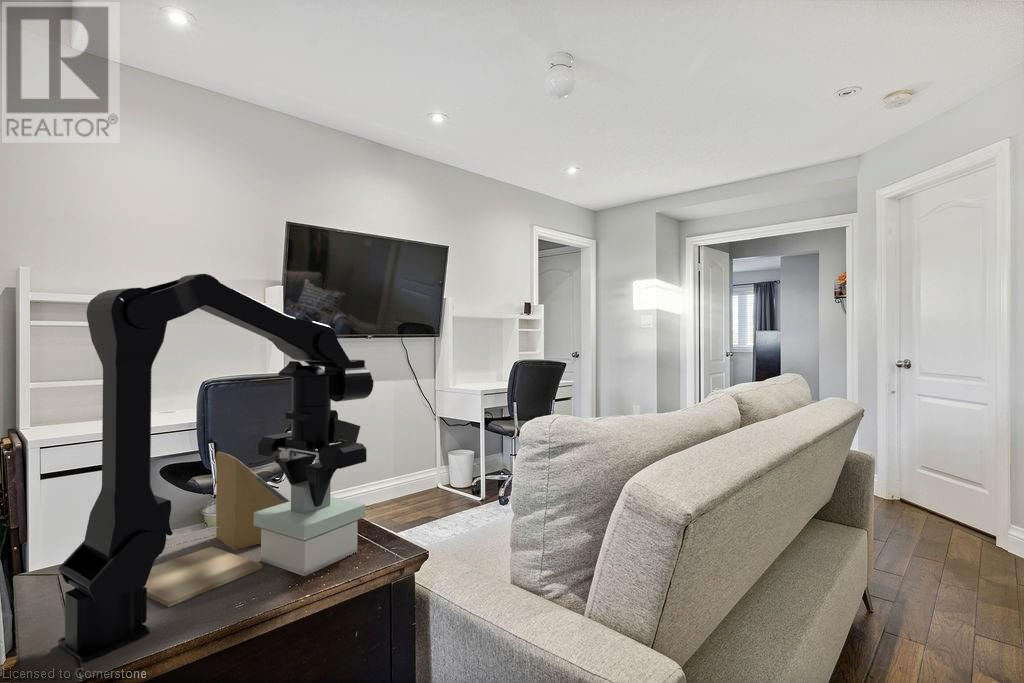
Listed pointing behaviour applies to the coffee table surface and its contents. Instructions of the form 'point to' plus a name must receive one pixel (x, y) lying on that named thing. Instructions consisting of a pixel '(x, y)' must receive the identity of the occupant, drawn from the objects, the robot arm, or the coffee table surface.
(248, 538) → the wooden ramp
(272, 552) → the storage box
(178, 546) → the coffee table surface
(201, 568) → the cork mat
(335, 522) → the lid
